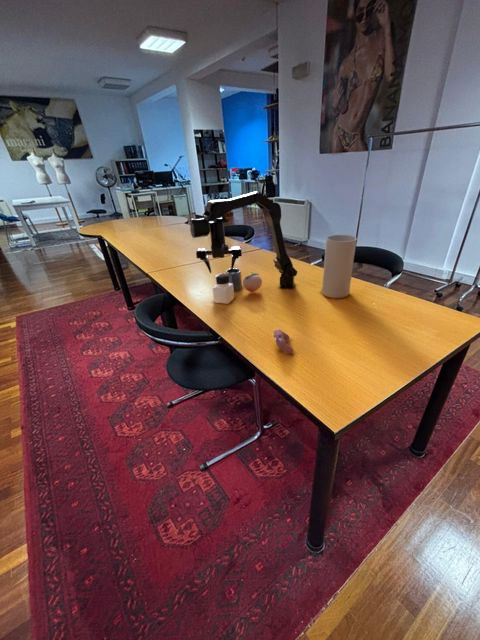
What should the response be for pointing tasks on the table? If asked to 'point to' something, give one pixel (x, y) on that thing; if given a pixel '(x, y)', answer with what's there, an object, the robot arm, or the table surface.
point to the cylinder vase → (338, 265)
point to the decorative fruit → (252, 282)
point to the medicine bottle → (223, 289)
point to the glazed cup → (235, 278)
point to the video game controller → (282, 341)
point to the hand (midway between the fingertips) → (221, 272)
